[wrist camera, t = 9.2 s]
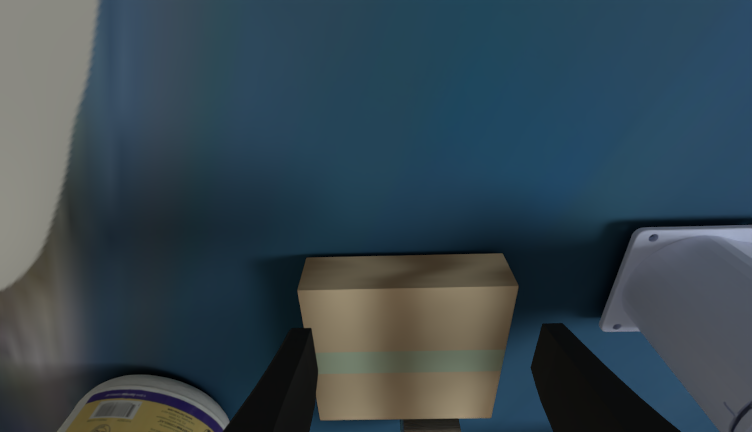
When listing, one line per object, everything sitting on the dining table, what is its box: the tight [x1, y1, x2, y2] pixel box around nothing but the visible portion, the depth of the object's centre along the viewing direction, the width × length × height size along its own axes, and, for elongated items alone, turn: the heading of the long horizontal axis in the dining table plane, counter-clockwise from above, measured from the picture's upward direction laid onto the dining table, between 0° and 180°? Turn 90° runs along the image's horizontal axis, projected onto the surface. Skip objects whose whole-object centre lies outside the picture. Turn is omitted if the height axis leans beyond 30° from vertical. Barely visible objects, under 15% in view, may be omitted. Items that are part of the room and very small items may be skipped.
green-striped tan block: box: [297, 253, 519, 420], centre depth 25 cm, size 12×12×3 cm
